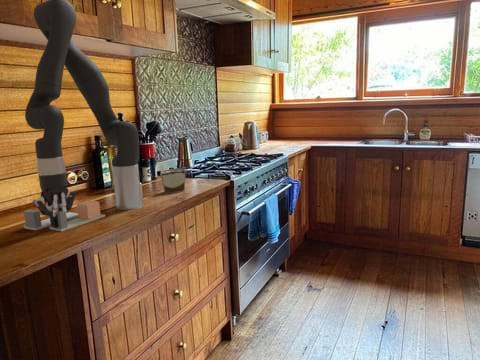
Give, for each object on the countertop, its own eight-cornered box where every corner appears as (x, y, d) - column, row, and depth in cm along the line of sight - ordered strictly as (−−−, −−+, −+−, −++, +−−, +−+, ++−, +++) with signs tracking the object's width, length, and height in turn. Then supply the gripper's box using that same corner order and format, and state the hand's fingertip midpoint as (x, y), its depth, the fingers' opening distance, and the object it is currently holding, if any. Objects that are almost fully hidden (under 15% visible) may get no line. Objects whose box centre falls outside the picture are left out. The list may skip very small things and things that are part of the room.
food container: (182, 188, 175) (180, 167, 173) (187, 190, 170) (186, 169, 168) (157, 192, 168) (155, 170, 166) (162, 194, 163) (160, 172, 161)
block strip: (93, 214, 131) (91, 199, 130) (105, 216, 128) (103, 200, 127) (49, 229, 116) (46, 211, 115) (61, 231, 113) (59, 214, 112)
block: (90, 214, 129) (89, 200, 128) (100, 215, 127) (99, 201, 126) (78, 218, 125) (76, 203, 124) (88, 219, 122) (86, 205, 121)
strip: (70, 213, 133) (68, 198, 132) (81, 215, 130) (79, 200, 129) (23, 228, 118) (21, 211, 117) (35, 230, 115) (32, 213, 114)
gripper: (64, 167, 120) (70, 218, 124) (22, 175, 108) (30, 231, 112) (79, 168, 117) (85, 221, 120) (38, 176, 105) (46, 234, 108)
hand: (59, 225), depth 116 cm, fingers closed on block strip, 2 cm apart
